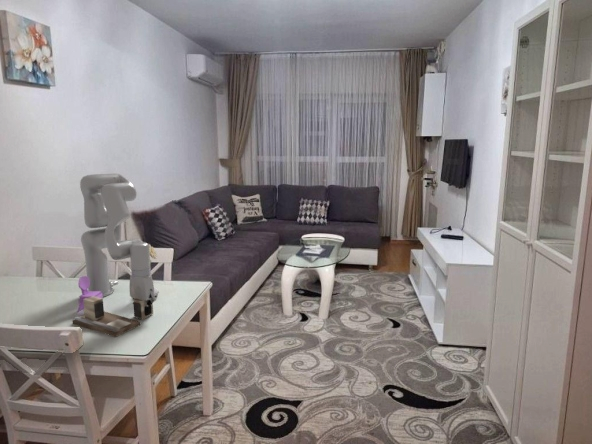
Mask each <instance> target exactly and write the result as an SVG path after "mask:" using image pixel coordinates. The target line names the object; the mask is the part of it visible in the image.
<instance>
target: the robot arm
mask: <svg viewBox="0 0 592 444" xmlns="http://www.w3.org/2000/svg"><path fill="white" fill-rule="evenodd" d="M79 185H80V191H81V194H82V196H83V201H84V202H83V212H84V214H83V215H84V224H85V226H86V227H87V228H89V229H91V230H87V231H84V232H83V233H82V235H81V237H80V241H81V245H82V249H83V254H84V259H85V269H86V272H85V273H86V277H89V279H90V286H89V287H88V289H87V290H88V291H101V293H102V295H103V298H104V297H106V296H110V295H112V294H113V293H114V288H113V287H114V286H117V285H118V284H119V282H118V281H117V280H115V281H110V275H109V274H110V273H109V262H108V261H109V260H108V257H107V254H105V253H104V252H103V251H102V249H107V253H108V254H109V256H110V258H111V259H112V260H115V261H121V260H125V259H130V271H131V274H130V278H129V297H130V298H131V299H132V300H133V301H134V299H138V300H142V301H144V302H145V307H144V309H145V316H147V315H149V314H151V313H152V310H151V305H152V303H154V302H156V301H157V298H156V297H155V296H154V287H155V285H154V280H153V276H152V270H151V264H150V260H151V256H150V252H149V243H147V242H145V241H143V240H142V239H139V238H132V239H126V240H121V239H122V224H123V223H124V222H125V223H126V222H127V221H128V220H129V219H130V217H131V213H130V210H129V207H128V204H127V202H132V201H134V200H136V198H137V190H136V188H135V186H134V184H133V183H132V182H131V181H130V180H129V179H127V178H126V177H125V176H123V175H122V174H120V173H97V174H94V173H93V174H87V175H84V176H82V178H81V179H80V182H79ZM147 300H149V302H147Z"/></svg>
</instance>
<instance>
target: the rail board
mask: <svg viewBox="0 0 592 444" xmlns="http://www.w3.org/2000/svg"><path fill="white" fill-rule="evenodd" d="M83 301H84V308H83V310H84V311H83V312H84V315H83V316H80V315H78V316H77V315H76V316H75V317H74V319H72V324H73V325H75V326H80V327H83V328H85V329H89V330H91V331H95V332H98V333H101V334H105V335H108V336H111V337H114V338H116V337H118V336H121V335H122V334H124V333H127V332H128V331H130V330H133V329H135V328H137V327H139V326H141V321H140V320H136V319H133V318H129V317H126V316H122V315H118V314H116V313H112V312H107V311H105V310H104V309H105V307H104V298H103V299H102V298H99V297H95V296H92V297H89V298H86V299H83ZM138 325H139V326H138ZM136 326H137V327H136ZM134 327H135V328H134Z"/></svg>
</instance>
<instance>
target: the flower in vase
mask: <svg viewBox="0 0 592 444" xmlns="http://www.w3.org/2000/svg"><path fill="white" fill-rule="evenodd" d="M148 245H149V252H150V258H152V259H154V260H156V259H157V257H158V255H157V251H156V250H155V248H154V246H151V244H150V243H148ZM151 264H152V260H151V259H150V265H151ZM159 293H160V290H159V289H158V288H157V287H155V286H154V296H156V297H157V296H158V295H159Z"/></svg>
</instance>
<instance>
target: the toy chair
mask: <svg viewBox="0 0 592 444" xmlns="http://www.w3.org/2000/svg"><path fill="white" fill-rule="evenodd" d="M89 286H90V279H89V277H87V275H86V276H80V277H79V279H78V289H80V290H81V294H80V295H79V296H78V297H79V298H78V309H77V311H76V312H77V313H79V312H81V311H82V310H84V301H83V299H86V298H89V297H92V296H95V297H99V298H102V299H103V300H104V297H103V295H102V293H101V291H88V287H89Z"/></svg>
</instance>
